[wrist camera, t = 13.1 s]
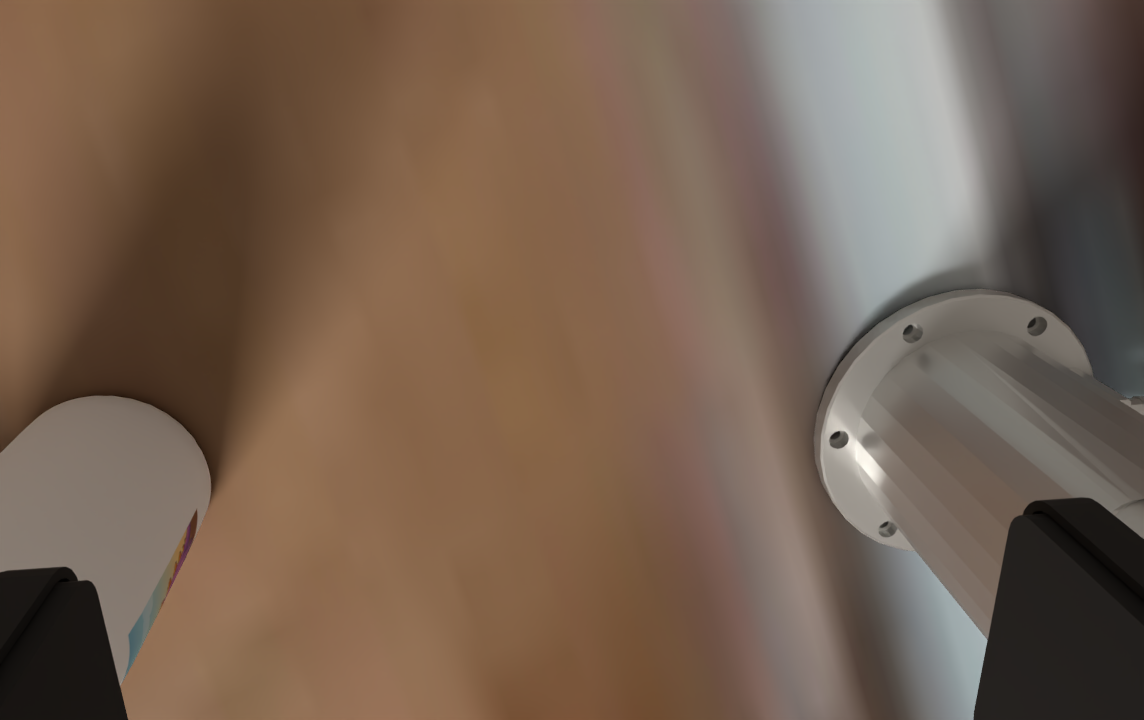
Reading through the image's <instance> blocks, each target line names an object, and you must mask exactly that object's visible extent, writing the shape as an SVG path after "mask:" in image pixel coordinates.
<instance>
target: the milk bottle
mask: <svg viewBox="0 0 1144 720" xmlns="http://www.w3.org/2000/svg"><path fill="white" fill-rule="evenodd" d="M210 496H211V478H210V473H209V469H208V466H207V462H206V460H205V458H204V455H203V453H202V451H201V449H200V448H199V446H198V445H197V443H196V441H195V439H194V438H193V436H192V435H191V434H190V433H189V432H188V431H187V430H186V429H185V428H184V427H183V426H182V424H180V423H179V422H178V421H176V420H175V419H173V418H172V417H171V416H170V415H168V414H167V413H165V412H163V411H161V410H159V409H157V408H156V407H154V406H152V405H150V404H147V403H143V402H140V401H137V400H135V399H132V398H124V397H118V396H88V397H82V398H77V399H73V400H69V401H66V402H63V403H61V404H58V405H56V406H54V407H52V408H50V409H49V410H47V411H45V412H44V413H43V414H41V415H40V416H39V417H37V418H36V419H35V420H34V421H33V422H32V423H31V424H30V425H29V426H27V427H26V428H25V429H24V430H23V431H22V432H21V433H20V434H19V435H18V436H17V437H16V438H15V439H14V440H13V441H12V442H11V443H10V444H9V445H8V446H7V447H6V448H5V449H4V450H3V451H2V452H1V453H0V572H3V571H7V570H21V569H36V568H51V567H65V566H66V567H68V568H70V569H72V570H73V572H74V573H75V574H76V576H77V579H78V581H82V580H89V581H91V582H92V583H93V584H94V586H95V587H96V590H97V593H98V597H99V601H100V605H101V609H102V613H103V617H104V622H105V626H106V630H107V634H108V638H109V642H110V647H111V651H112V655H113V659H114V663H115V668H116V672H117V676H118V680H119V684H120V685H121V684H122V682H123V680H124V678H125V676H126V675H127V673H128V671H129V669H130V667H131V666H132V664H133V662H134V660H135V658H136V656H137V654H138V652H139V650H140V648H141V646H142V644H143V642H144V640H145V638H146V637H147V635H148V633H149V631H150V629H151V627H152V625H153V623H154V621H155V619H156V617H157V615H158V613H159V611H160V609H161V607H162V605H163V603H164V601H165V599H166V596H167V594H168V592H169V590H170V588H171V586H172V584H173V582H174V580H175V578H176V576H177V574H178V572H179V570H180V568H181V566H182V564H183V562H184V560H185V558H186V555H187V553H188V551H189V549H190V547H191V545H192V543H193V541H194V539H195V537H196V535H197V533H198V530H199V528H200V526H201V524H202V521H203V519H204V516H205V514H206V511H207V509H208V505H209V502H210Z"/></svg>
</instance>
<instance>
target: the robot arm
mask: <svg viewBox="0 0 1144 720" xmlns="http://www.w3.org/2000/svg"><path fill="white" fill-rule="evenodd" d="M907 326H908V328H907V329H906V330H905V331H904V329H905V328H906V327H907ZM834 432H835V433H834ZM833 433H834V434H833ZM832 434H833V435H832ZM814 450H815V462H816V466H817V469H818V472H819V476H820V479H821V483H822V484H823V486H824V488H825V490H826V492H827V493H828V495H829V497H830V499H831V500H832V502H833V503H834V505H835V506H836V507H837V508H838V510H839V511H840V512H841V513H842V515H843V516H844V517H845V519H846V520H847V521H848V522H850V523H851V524H852V525H853V526H854V527H855V528H857V529H858V530H859V531H860V532H861V533H862V534H864V535H866V536H868V537H870V538H871V539H873V540H875V541H877V542H879V543H881V544H884V545H887V546H891V547H894V548H898V549H901V550H906V551H916V552H917V553H918V554H919V556H920V557H921V558H922V559H923V561H924V562H925V563H926V564H927V565H928V567H929V568H930V569H931V570H932V572H933V573H934V574H935V575H936V577H937V578H938V579H939V580H940V582H941V583H942V584H943V585H944V587H945V588H946V589H947V590H948V591H949V593H950V594H951V595H952V596H953V598H954V599H955V600H956V601H957V603H958V604H959V605H960V606H961V608H962V609H963V610H964V611H965V613H966V614H967V615H968V616H969V617H970V619H971V620H972V621H973V622H974V624H975V625H976V626H977V627H978V629H979V630H980V631H981V632H982V634H983V635H984V636H985V637H986V639H987V640H988V641H987V647H986V652H985V657H984V662H983V668H982V673H981V678H980V684H979V689H978V694H977V699H976V705H975V710H974V720H1144V396H1135V397H1132V398H1128V399H1127V398H1126V397H1124V396H1122V395H1121V394H1119V393H1117V392H1116V391H1114V390H1113V389H1111V388H1109V387H1108V386H1106V385H1104V384H1103V383H1101V382H1100V381H1098V380H1096V379H1095V378H1094V377H1093V371H1092V367H1091V364H1090V362H1089V359H1088V357H1087V354H1086V351H1085V349H1084V347H1083V345H1082V344H1081V342H1080V341H1079V340H1078V338H1077V337H1076V335H1075V334H1074V333H1073V331H1072V330H1071V328H1070V327H1068V326H1067V325H1066V324H1065V323H1064V322H1063V321H1061V320H1060V319H1059V318H1058V317H1057V316H1056V315H1054V314H1053V313H1052V312H1050V311H1048V310H1047V309H1045V308H1043V307H1041V306H1040V305H1038V304H1036V303H1034V302H1032V301H1030V300H1028V299H1025V298H1022V297H1020V296H1017V295H1014V294H1012V293H1009V292H1003V291H996V290H989V289H967V290H955V291H950V292H946V293H942V294H938V295H934V296H929V297H927V298H925V299H922V300H920V301H918V302H915V303H913V304H911V305H908V306H906V307H904V308H902V309H900V310H899V311H897V312H895V313H894V314H892V315H891V316H889V317H888V318H886V319H884V320H883V321H881V322H880V323H878V324H877V325H876V326H875V327H874V328H873V329H871V330H870V331H869V332H868V333H867V334H866V335H865V336H864V337H863V338H861V339H860V340H859V341H858V342H857V343H856V344H855V345H854V347H853V348H852V349H851V350H850V352H849V353H848V354H847V355H846V357H845V358H844V359H843V360H842V362H841V363H840V364H839V366H838V367H837V369H836V371H835V373H834V374H833V376H832V378H831V380H830V382H829V383H828V385H827V387H826V389H825V392H824V395H823V398H822V401H821V403H820V406H819V409H818V412H817V418H816V425H815V432H814ZM0 720H128V718H127V713H126V709H125V705H124V701H123V697H122V693H121V688H120V684H119V680H118V676H117V672H116V668H115V663H114V659H113V655H112V651H111V647H110V642H109V638H108V634H107V630H106V626H105V622H104V617H103V613H102V609H101V605H100V601H99V597H98V593H97V590H96V587H95V586H94V584H93V583H92V582H91V581H89V580H82V581H78V579H77V576H76V574H75V573H74V572H73V570H72V569H70V568H68V567H66V566H65V567H51V568H36V569H21V570H7V571H3V572H0Z"/></svg>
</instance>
